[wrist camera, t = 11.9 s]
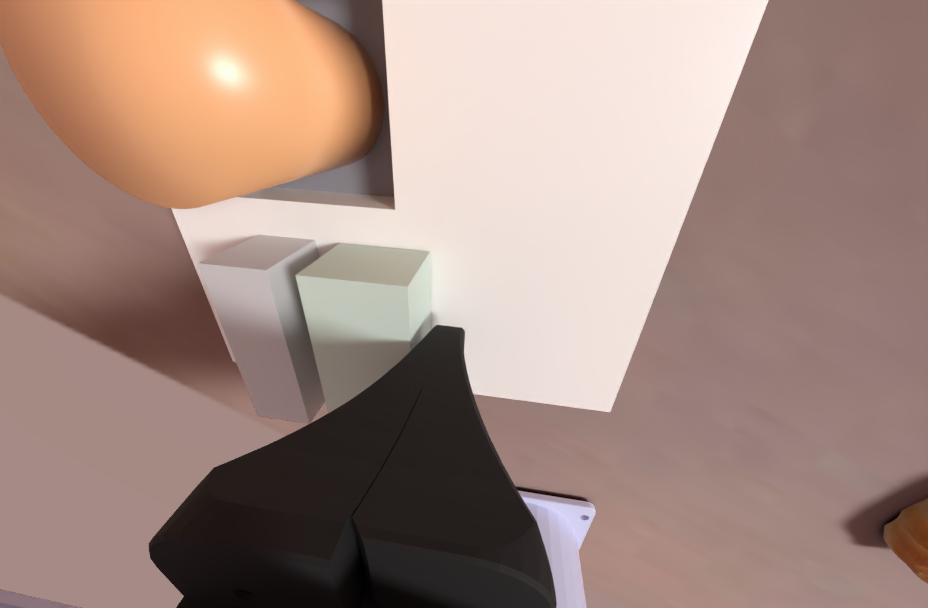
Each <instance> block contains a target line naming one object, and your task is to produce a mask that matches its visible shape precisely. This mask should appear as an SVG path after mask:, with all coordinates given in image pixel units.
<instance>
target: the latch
mask: <svg viewBox="0 0 928 608" xmlns="http://www.w3.org/2000/svg"><path fill="white" fill-rule="evenodd" d="M295 276H296V280H297V284H298V289H299V293H300V297H301V301H302V305H303V310H304V314H305V318H306V322H307V326H308V331H309V335H310V339H311V343H312V348H313V352H314V356H315V360H316V364H317V369H318V373H319V377H320V381H321V385H322V390H323V394H324V398H325V402H326V406H327V411H328V413H330V412H331V411H333V410H335V409H336V408H338V407H340V406H341V405H343V404H345V403H346V402H348V401H349V400H351V399H352V398H354V397H355V396H357V395H358V394H359V393H361V392H362V391H364V390H365V389H366V388H368V387H369V386H371V385H372V384H373V383H374V382H376V381H377V380H378V379H380V378H381V377H382V376H383V375H384V374H385V373H387V372H388V371H389V370H390V369H391V368H393V367H394V366H395V365H396V364H397V363H398V362H400V361H401V360H402V359H403V358H404V357H405V356H406V355H407V354H408V353H409V352H410V351H411V350H412V349H413V348H414V347H415V346H416V345H417V344H418V343H419V342H420V341H421V340H422V339H423V338H424V337H425V336H426V335H427V334H428V333H429V332H430V331H431V293H430V251H419V250H408V249H397V248H386V247H376V246H365V245H354V244H343V243H340V244H338V245H337V246H335V247H334V248H333V249H331V250H330V251H328V252H327V253H326V254H324V255H323V256H321V257H320V258H319V259H317V260H316V261H314V262H313V263H312V264H310V265H309V266H307V267H306V268H305V269H303V270H302V271H300V272H299V273H298V274H296V275H295Z"/></svg>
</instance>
